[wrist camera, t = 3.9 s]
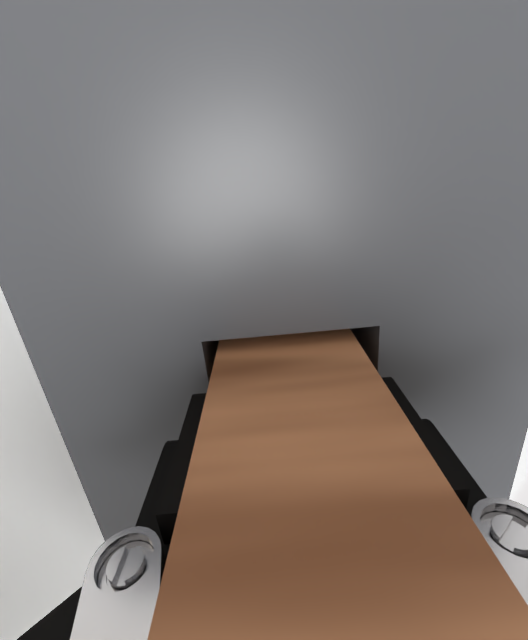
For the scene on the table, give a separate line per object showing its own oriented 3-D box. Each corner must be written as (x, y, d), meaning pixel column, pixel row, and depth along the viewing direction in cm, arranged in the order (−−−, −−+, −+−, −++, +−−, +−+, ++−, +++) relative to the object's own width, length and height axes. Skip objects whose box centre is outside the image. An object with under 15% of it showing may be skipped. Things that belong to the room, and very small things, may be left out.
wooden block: (325, 368, 17) (482, 795, 5) (240, 376, 17) (204, 813, 5) (323, 287, 16) (549, 638, 4) (230, 295, 16) (139, 669, 4)
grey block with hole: (422, 492, 21) (480, 604, 15) (171, 512, 21) (141, 628, 16) (482, 7, 12) (681, -148, 6) (42, 55, 12) (-138, -51, 7)
